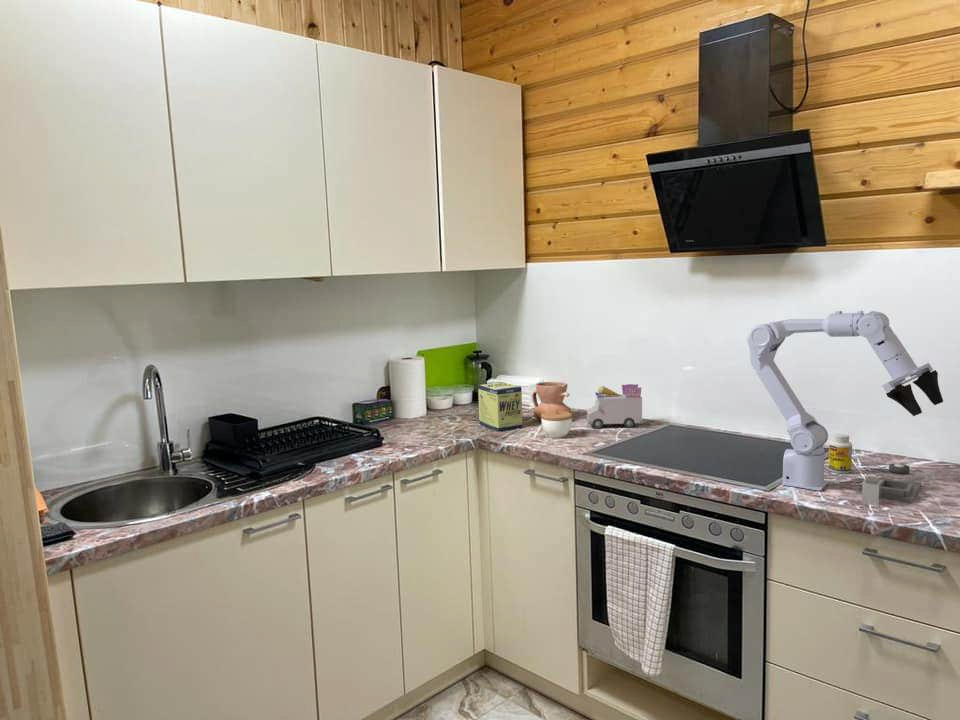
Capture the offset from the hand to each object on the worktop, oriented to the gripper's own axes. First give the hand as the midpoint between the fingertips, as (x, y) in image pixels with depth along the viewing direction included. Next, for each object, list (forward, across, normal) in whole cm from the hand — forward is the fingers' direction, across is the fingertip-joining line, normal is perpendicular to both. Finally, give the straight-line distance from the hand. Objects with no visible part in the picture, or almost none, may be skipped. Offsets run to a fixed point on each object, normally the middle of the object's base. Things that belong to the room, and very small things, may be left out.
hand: (928, 408), depth 159 cm
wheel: (+12, +3, +20) cm, 24 cm away
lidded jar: (-40, -42, +97) cm, 113 cm away
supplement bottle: (+7, +2, +37) cm, 38 cm away
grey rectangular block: (+14, -12, +18) cm, 26 cm away
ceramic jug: (-50, -30, +119) cm, 133 cm away
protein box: (-54, -51, +117) cm, 139 cm away
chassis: (+15, -1, +21) cm, 26 cm away
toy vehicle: (-36, -17, +101) cm, 109 cm away
